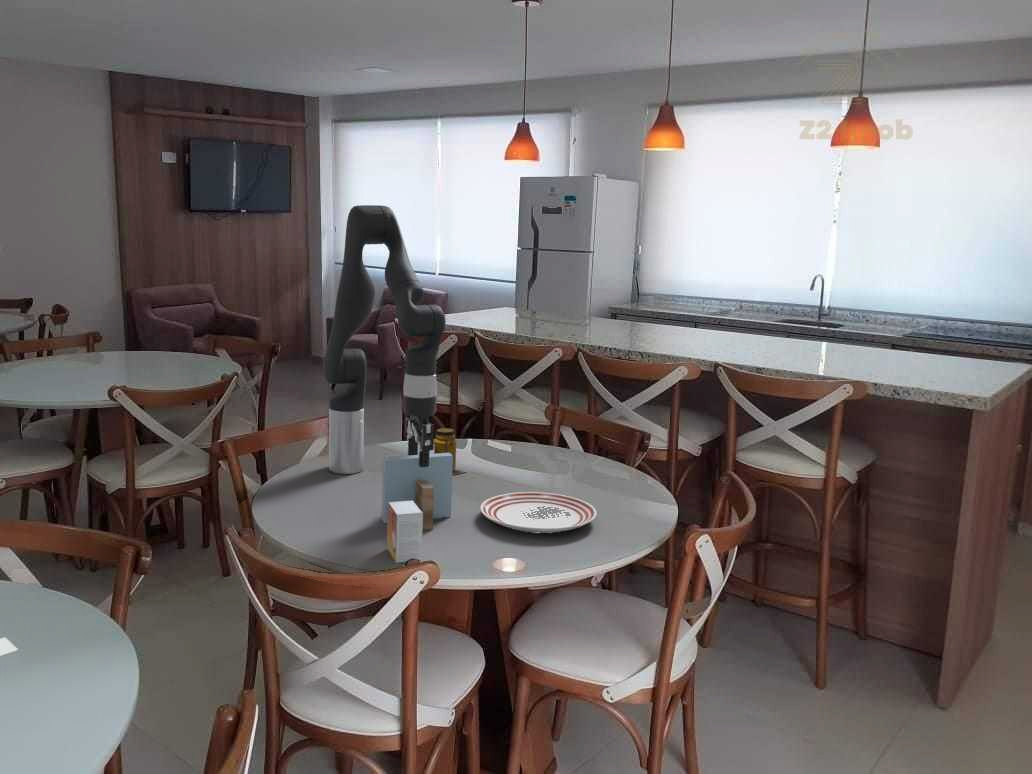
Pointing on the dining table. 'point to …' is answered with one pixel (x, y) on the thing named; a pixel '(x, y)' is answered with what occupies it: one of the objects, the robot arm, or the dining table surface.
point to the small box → (404, 531)
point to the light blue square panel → (407, 471)
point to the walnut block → (425, 502)
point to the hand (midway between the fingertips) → (418, 461)
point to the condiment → (447, 445)
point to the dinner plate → (511, 505)
